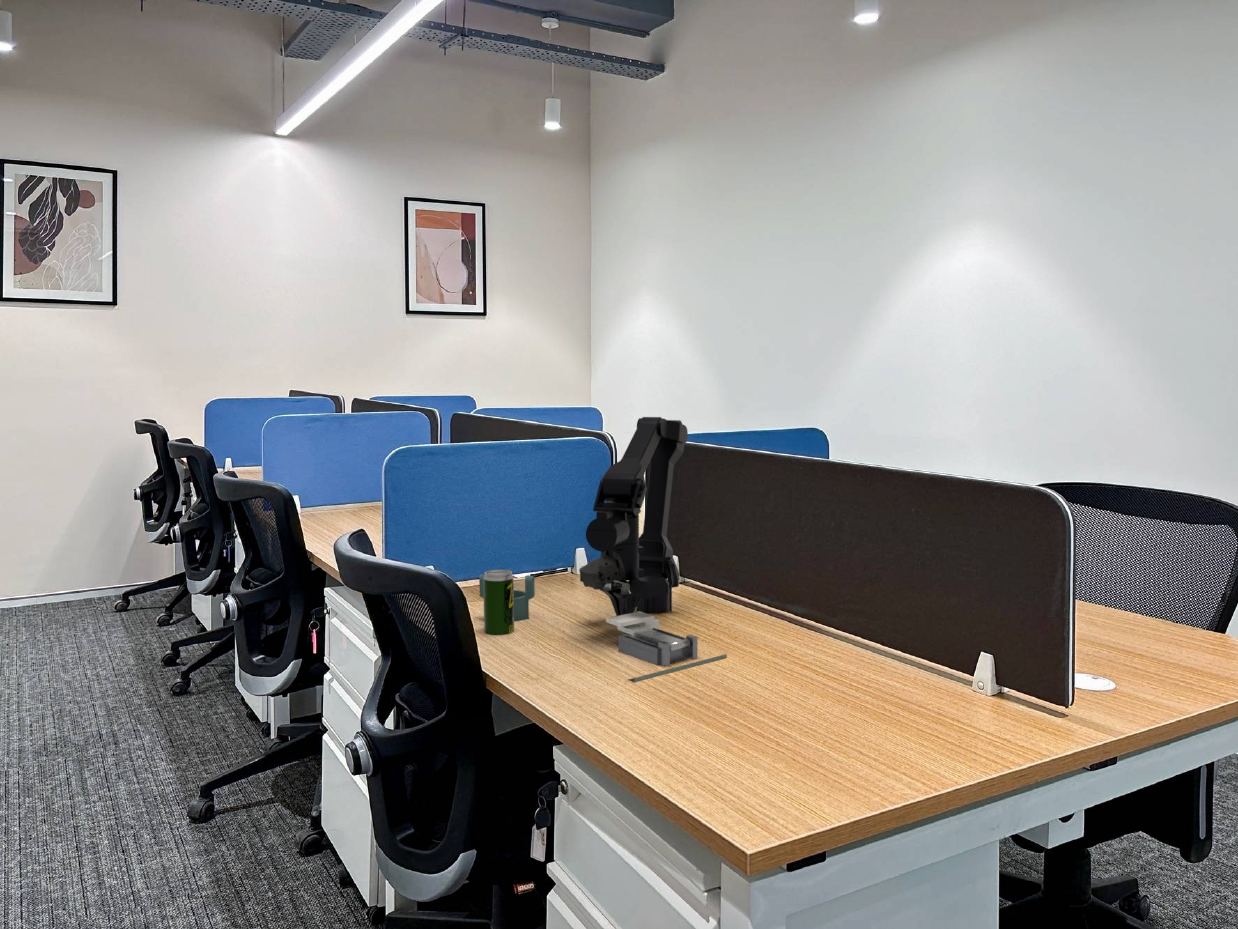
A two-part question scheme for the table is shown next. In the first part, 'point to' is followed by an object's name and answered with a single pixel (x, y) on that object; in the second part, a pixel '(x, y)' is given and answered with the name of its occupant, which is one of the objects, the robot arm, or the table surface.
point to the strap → (654, 636)
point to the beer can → (498, 602)
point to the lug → (635, 620)
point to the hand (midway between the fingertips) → (623, 627)
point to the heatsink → (657, 649)
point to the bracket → (518, 597)
